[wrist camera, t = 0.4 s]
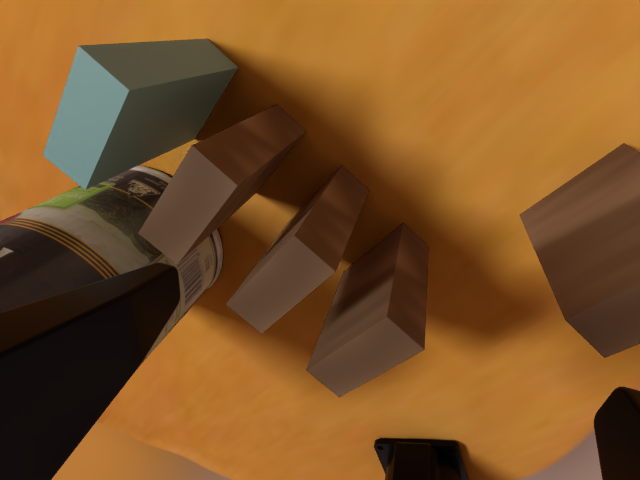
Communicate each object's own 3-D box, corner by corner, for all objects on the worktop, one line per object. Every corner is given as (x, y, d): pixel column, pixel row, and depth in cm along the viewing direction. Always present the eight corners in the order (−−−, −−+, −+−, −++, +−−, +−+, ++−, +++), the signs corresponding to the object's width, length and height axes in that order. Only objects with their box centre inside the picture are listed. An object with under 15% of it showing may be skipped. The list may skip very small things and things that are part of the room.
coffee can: (65, 189, 26) (-240, 322, 14) (173, 142, 22) (-131, 276, 10) (145, 305, 30) (-45, 485, 18) (249, 284, 26) (92, 500, 14)
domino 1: (238, 67, 19) (129, 90, 12) (194, 139, 22) (85, 189, 15) (207, 38, 19) (78, 45, 12) (166, 114, 21) (42, 155, 15)
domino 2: (306, 131, 20) (237, 185, 13) (255, 193, 22) (177, 264, 16) (277, 104, 19) (191, 145, 13) (229, 170, 22) (138, 233, 15)
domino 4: (428, 246, 21) (424, 349, 14) (367, 291, 24) (339, 397, 17) (403, 222, 21) (386, 316, 14) (344, 271, 23) (306, 370, 17)
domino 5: (652, 174, 16) (800, 277, 10) (545, 241, 19) (604, 357, 12) (623, 143, 16) (756, 226, 9) (519, 215, 19) (565, 320, 12)
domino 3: (369, 190, 20) (335, 271, 14) (313, 243, 23) (261, 333, 16) (342, 165, 20) (294, 235, 13) (288, 221, 23) (225, 304, 16)
